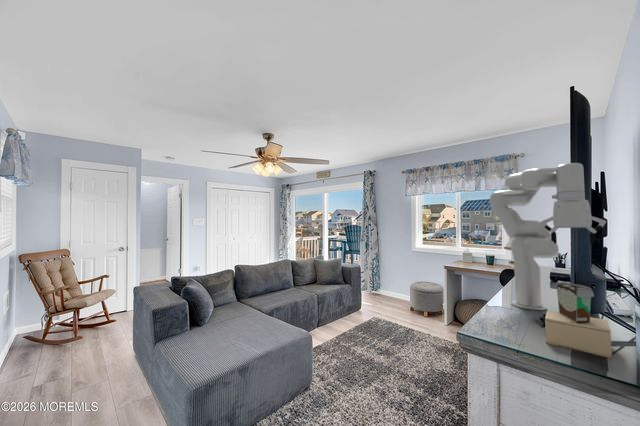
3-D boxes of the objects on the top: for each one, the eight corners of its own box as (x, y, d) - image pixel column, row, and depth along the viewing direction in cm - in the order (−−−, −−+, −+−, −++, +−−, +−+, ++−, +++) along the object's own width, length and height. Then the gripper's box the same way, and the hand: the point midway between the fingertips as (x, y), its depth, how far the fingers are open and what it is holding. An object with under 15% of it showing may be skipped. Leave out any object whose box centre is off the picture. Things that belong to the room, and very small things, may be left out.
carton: (548, 333, 92) (547, 312, 92) (608, 345, 82) (607, 322, 83) (546, 343, 84) (545, 320, 84) (611, 358, 74) (610, 332, 75)
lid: (547, 311, 92) (547, 309, 92) (607, 322, 82) (607, 319, 82) (545, 319, 84) (544, 317, 84) (610, 331, 75) (610, 329, 75)
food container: (606, 327, 76) (604, 291, 77) (579, 324, 78) (578, 290, 79) (579, 313, 88) (578, 282, 88) (556, 311, 90) (555, 281, 90)
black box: (565, 333, 93) (564, 319, 94) (538, 329, 97) (537, 316, 97) (554, 322, 104) (554, 310, 104) (531, 319, 108) (530, 307, 108)
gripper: (539, 198, 102) (541, 243, 101) (605, 194, 90) (608, 245, 89) (541, 199, 107) (542, 242, 106) (603, 196, 95) (606, 244, 94)
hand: (572, 243), depth 98 cm, fingers open, 9 cm apart
